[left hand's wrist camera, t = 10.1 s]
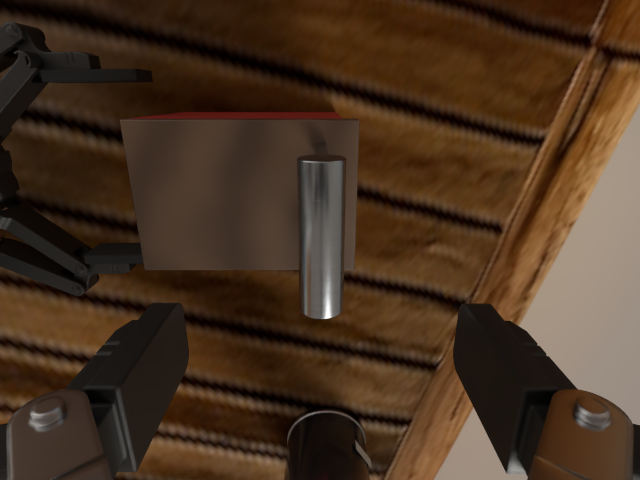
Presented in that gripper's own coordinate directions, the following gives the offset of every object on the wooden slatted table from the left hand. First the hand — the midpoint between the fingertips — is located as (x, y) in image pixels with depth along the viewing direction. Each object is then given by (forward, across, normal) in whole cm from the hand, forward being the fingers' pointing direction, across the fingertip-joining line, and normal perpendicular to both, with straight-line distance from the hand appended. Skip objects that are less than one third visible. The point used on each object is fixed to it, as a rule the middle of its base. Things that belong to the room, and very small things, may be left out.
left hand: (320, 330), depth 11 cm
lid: (+16, +5, 0) cm, 17 cm away
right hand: (+21, +12, -1) cm, 24 cm away
